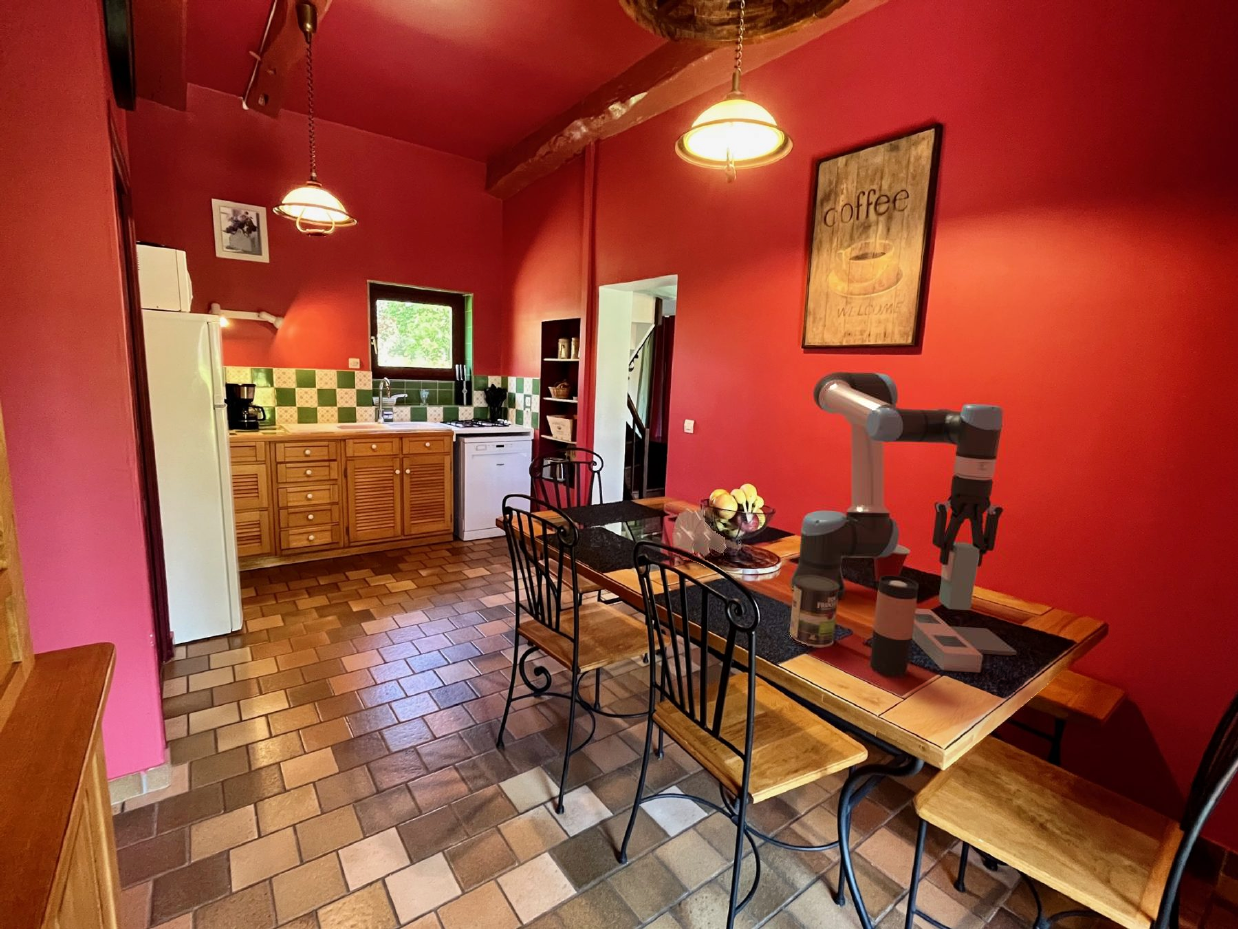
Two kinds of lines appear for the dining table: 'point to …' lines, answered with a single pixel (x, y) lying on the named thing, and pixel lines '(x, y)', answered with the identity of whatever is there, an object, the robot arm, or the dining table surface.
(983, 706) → the dining table surface
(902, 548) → the plastic cup
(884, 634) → the travel mug
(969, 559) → the gray rectangular box
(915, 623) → the block with square holes
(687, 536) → the spiral staircase
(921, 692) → the dining table surface
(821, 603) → the coffee can
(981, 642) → the rubber mat
